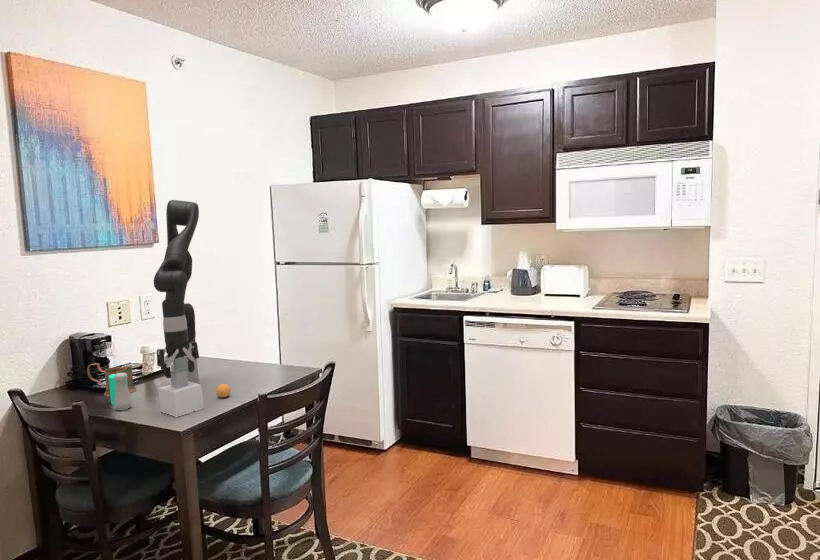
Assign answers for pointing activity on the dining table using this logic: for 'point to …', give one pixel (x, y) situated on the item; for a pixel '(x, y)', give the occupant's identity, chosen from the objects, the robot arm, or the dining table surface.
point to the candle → (112, 387)
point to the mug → (114, 371)
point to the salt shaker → (122, 392)
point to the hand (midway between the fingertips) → (180, 374)
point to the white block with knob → (180, 395)
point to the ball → (223, 390)
